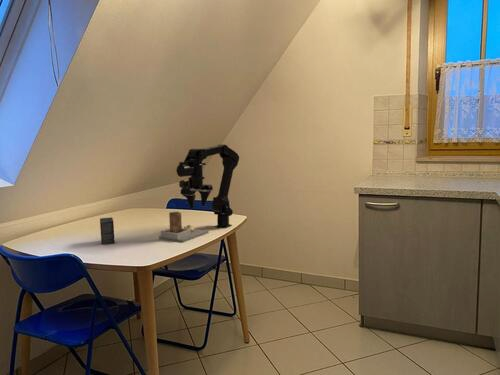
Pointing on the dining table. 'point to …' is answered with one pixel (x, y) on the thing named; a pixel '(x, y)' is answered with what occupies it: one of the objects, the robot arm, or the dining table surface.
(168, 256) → the dining table surface
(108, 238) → the box
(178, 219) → the wooden block
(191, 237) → the housing
